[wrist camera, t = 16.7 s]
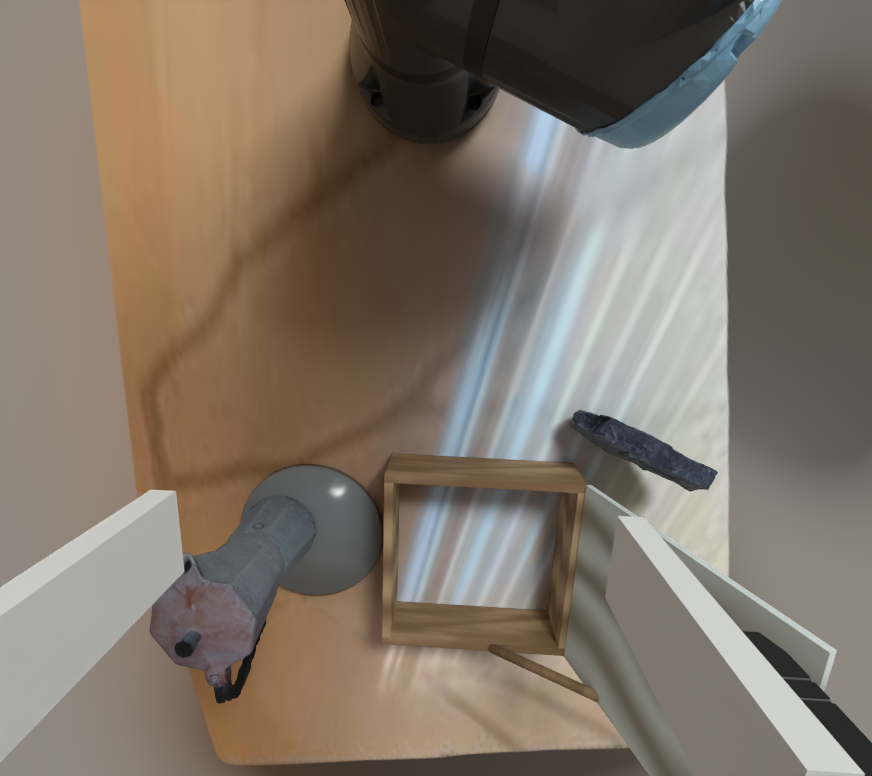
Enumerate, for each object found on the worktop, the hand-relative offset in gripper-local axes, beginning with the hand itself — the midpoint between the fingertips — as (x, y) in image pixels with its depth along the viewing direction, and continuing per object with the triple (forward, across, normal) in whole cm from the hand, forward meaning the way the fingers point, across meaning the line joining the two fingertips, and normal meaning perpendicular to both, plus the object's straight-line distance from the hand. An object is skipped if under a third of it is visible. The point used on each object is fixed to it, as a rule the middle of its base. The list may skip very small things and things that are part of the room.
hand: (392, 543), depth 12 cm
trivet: (+37, -15, -23) cm, 46 cm away
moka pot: (+36, -18, -22) cm, 46 cm away
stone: (+37, +22, -8) cm, 44 cm away
